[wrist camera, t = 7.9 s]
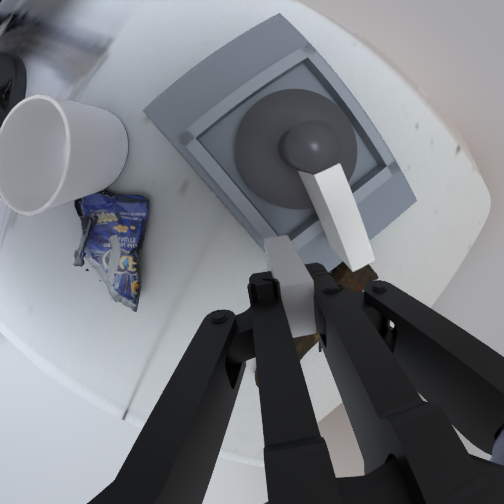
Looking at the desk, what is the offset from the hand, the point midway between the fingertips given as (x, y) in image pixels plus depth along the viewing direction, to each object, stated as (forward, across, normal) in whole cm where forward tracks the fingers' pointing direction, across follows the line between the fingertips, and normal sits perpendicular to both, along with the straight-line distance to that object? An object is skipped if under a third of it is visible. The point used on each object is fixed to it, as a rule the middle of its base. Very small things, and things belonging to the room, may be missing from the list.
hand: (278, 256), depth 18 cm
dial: (+6, +4, +5) cm, 9 cm away
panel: (+9, +3, +6) cm, 12 cm away
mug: (+10, -17, +11) cm, 23 cm away
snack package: (+10, -15, +1) cm, 18 cm away
